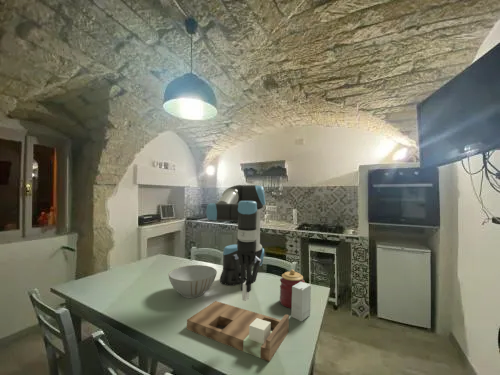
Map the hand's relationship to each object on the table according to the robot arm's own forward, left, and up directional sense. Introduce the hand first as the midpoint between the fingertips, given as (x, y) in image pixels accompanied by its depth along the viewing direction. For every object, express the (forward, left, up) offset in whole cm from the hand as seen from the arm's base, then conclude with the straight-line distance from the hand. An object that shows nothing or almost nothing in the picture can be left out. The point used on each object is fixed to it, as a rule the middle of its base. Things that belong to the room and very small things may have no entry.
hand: (245, 299), depth 93 cm
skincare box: (+14, +29, -16) cm, 36 cm away
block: (+7, -1, -12) cm, 14 cm away
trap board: (-6, +4, -16) cm, 17 cm away
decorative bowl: (-47, +22, -16) cm, 54 cm away
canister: (+6, +40, -16) cm, 44 cm away
